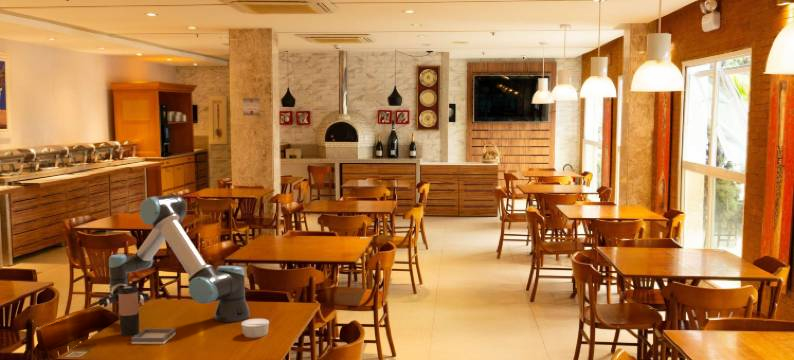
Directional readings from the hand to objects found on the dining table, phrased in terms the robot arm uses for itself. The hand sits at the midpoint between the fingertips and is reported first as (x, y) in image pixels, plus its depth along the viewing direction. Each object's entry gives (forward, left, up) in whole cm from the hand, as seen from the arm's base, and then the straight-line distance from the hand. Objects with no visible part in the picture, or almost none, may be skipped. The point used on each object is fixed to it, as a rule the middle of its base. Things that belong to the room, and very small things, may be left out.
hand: (126, 303), depth 308 cm
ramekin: (-57, +8, -11) cm, 59 cm away
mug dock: (-17, +14, -11) cm, 25 cm away
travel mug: (-4, +7, -11) cm, 14 cm away
